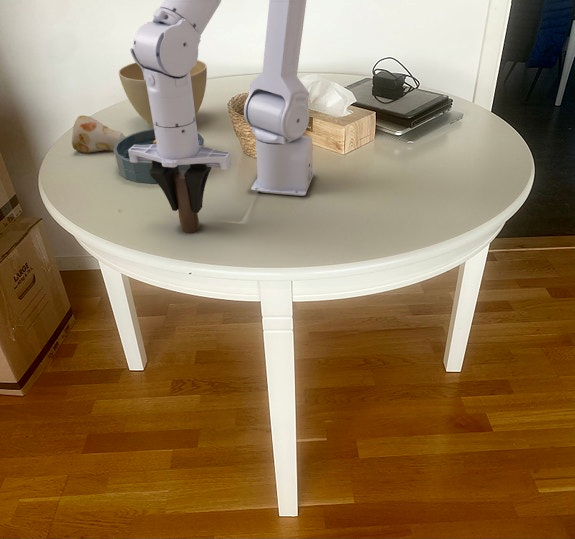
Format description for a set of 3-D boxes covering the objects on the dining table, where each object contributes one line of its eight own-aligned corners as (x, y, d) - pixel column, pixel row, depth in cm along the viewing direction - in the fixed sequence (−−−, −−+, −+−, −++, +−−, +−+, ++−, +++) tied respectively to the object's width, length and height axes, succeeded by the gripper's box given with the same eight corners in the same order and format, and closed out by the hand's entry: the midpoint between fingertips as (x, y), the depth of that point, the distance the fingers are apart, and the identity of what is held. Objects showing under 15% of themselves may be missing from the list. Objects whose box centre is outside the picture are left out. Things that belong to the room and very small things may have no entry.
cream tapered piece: (127, 158, 103) (90, 119, 96) (91, 175, 107) (53, 138, 101) (137, 135, 108) (102, 96, 101) (102, 152, 112) (66, 115, 105)
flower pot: (223, 113, 122) (218, 58, 115) (193, 143, 108) (185, 83, 101) (152, 108, 126) (143, 54, 119) (114, 136, 112) (101, 77, 105)
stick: (202, 224, 82) (195, 171, 77) (195, 233, 80) (188, 179, 74) (185, 222, 82) (177, 169, 77) (178, 232, 80) (169, 178, 75)
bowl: (217, 152, 104) (215, 130, 102) (188, 190, 91) (184, 166, 89) (141, 146, 107) (137, 125, 105) (102, 182, 94) (96, 158, 92)
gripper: (111, 127, 69) (130, 217, 77) (216, 134, 67) (225, 226, 75) (134, 109, 75) (150, 194, 83) (232, 115, 72) (239, 203, 80)
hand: (187, 208), depth 79 cm, fingers closed on stick, 3 cm apart
